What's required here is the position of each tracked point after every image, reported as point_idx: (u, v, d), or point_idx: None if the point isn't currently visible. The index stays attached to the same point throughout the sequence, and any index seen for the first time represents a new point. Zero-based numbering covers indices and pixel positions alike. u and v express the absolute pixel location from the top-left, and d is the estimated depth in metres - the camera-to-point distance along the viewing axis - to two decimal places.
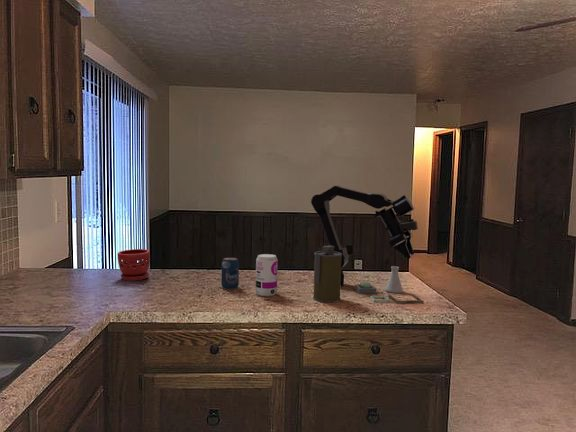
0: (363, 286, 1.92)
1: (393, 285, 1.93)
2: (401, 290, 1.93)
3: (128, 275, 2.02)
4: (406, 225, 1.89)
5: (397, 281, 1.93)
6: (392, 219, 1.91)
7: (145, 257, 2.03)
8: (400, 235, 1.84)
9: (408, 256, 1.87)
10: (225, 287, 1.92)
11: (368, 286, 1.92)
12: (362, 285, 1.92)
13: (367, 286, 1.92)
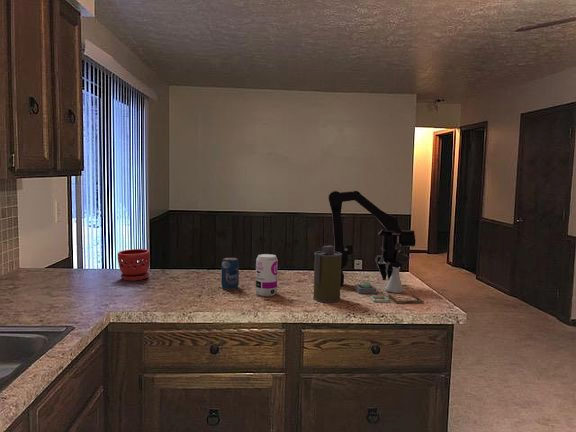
0: (363, 286, 1.92)
1: (393, 284, 1.92)
2: (401, 290, 1.93)
3: (128, 275, 2.02)
4: (402, 256, 2.01)
5: (398, 281, 1.92)
6: (393, 245, 1.99)
7: (145, 257, 2.03)
8: (401, 264, 1.94)
9: None
10: (225, 287, 1.92)
11: (368, 286, 1.92)
12: (362, 285, 1.92)
13: (367, 286, 1.92)
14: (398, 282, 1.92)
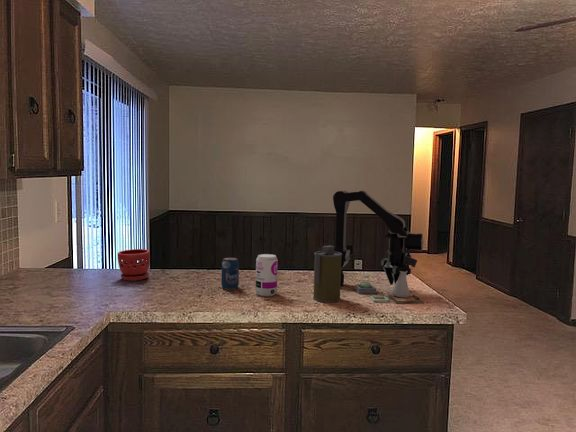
0: (363, 286, 1.92)
1: (400, 289, 1.85)
2: (408, 294, 1.86)
3: (128, 275, 2.02)
4: (409, 259, 1.92)
5: (404, 285, 1.85)
6: (398, 248, 1.91)
7: (145, 257, 2.03)
8: (409, 268, 1.86)
9: None
10: (225, 287, 1.92)
11: (368, 286, 1.92)
12: (362, 285, 1.92)
13: (367, 286, 1.92)
14: (405, 286, 1.85)
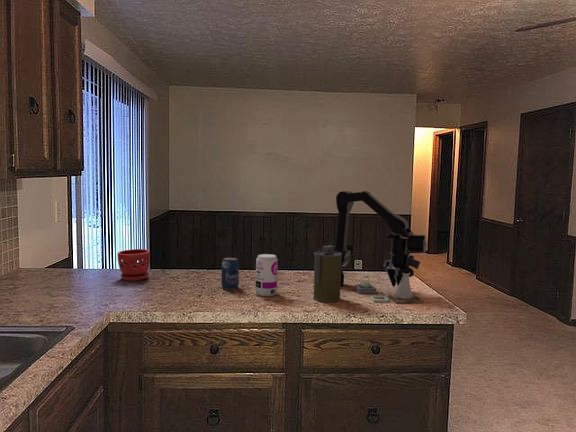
0: (363, 286, 1.92)
1: (402, 291, 1.82)
2: (411, 296, 1.83)
3: (128, 275, 2.02)
4: (412, 261, 1.89)
5: (407, 287, 1.82)
6: (400, 249, 1.88)
7: (145, 257, 2.03)
8: (412, 270, 1.82)
9: None
10: (225, 287, 1.92)
11: (368, 286, 1.92)
12: (362, 285, 1.92)
13: (367, 286, 1.92)
14: (408, 288, 1.82)
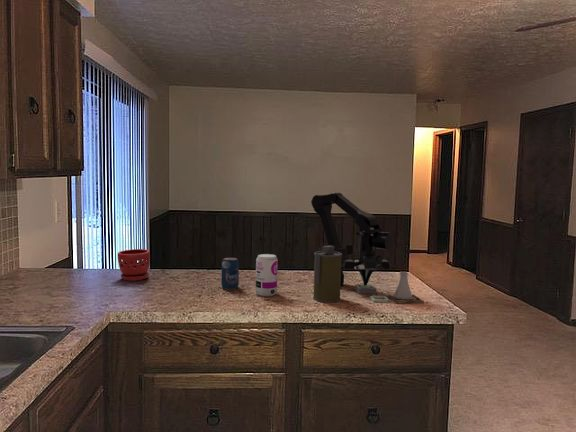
0: None
1: (402, 291, 1.83)
2: (411, 297, 1.83)
3: (128, 275, 2.02)
4: (363, 259, 1.88)
5: (406, 287, 1.83)
6: (366, 246, 1.90)
7: (145, 257, 2.03)
8: (345, 263, 1.90)
9: None
10: (225, 287, 1.92)
11: None
12: None
13: None
14: (407, 288, 1.83)
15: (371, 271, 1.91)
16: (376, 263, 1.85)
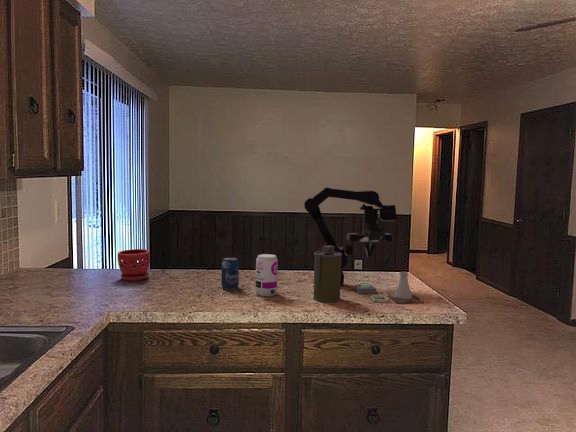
0: None
1: (402, 291, 1.83)
2: (411, 297, 1.83)
3: (128, 275, 2.02)
4: (367, 231, 1.97)
5: (406, 287, 1.83)
6: (374, 219, 1.99)
7: (145, 257, 2.03)
8: (349, 235, 1.99)
9: (367, 255, 2.03)
10: (225, 287, 1.92)
11: None
12: None
13: None
14: (407, 288, 1.83)
15: (374, 243, 2.00)
16: (379, 235, 1.94)
